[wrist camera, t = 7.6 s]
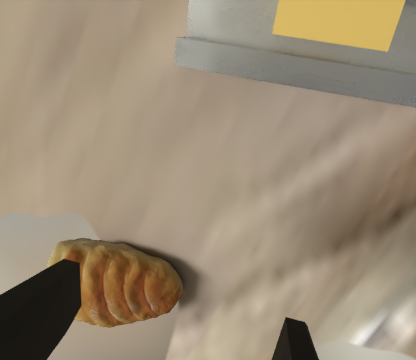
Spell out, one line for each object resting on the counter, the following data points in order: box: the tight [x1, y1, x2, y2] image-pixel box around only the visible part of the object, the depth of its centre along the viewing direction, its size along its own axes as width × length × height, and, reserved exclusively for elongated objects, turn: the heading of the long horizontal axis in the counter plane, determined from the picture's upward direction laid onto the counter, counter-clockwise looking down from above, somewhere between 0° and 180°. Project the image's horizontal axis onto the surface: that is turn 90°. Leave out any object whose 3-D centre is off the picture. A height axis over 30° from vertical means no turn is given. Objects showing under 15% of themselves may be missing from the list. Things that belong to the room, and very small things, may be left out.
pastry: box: [47, 238, 183, 327], centre depth 24 cm, size 9×7×4 cm
